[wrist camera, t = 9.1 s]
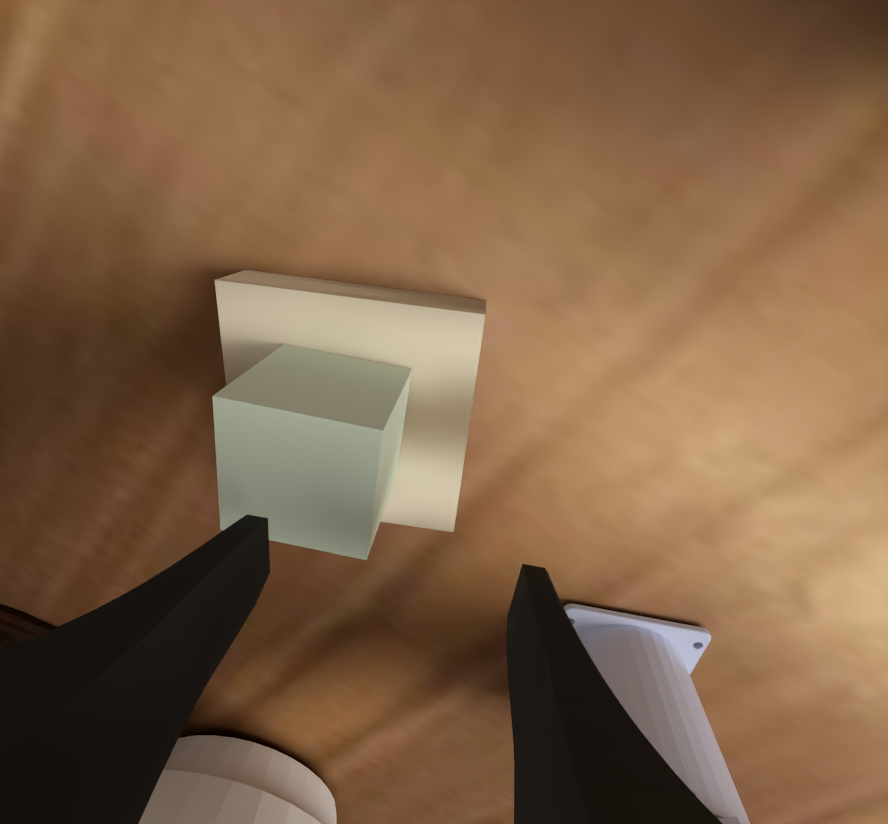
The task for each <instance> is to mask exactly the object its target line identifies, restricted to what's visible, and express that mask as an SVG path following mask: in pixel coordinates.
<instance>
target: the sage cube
mask: <svg viewBox="0 0 888 824" xmlns="http://www.w3.org/2000/svg"><path fill="white" fill-rule="evenodd" d="M411 374H412V369H408V368H403V367H398V366H393V365H388V364H383V363H378V362H373V361H368V360H363V359H358V358H353V357H348V356H343V355H338V354H333V353H328V352H323V351H318V350H313V349H308V348H303V347H298V346H293V345H288V344H284V345H282V346H281V347H280V348H278V349H277V350H275V351H274V352H273V353H271V354H270V355H268V356H267V357H266V358H264V359H263V360H262V361H260V362H259V363H257V364H256V365H255V366H253V367H252V368H250V369H249V370H248V371H246V372H245V373H244V374H242V375H241V376H239V377H238V378H237V379H235V380H234V381H232V382H231V383H230V384H228V385H227V386H226V387H224V388H223V389H221V390H220V391H219V392H217V393H216V394H214V395H213V396H212V397H213V414H214V430H215V447H216V463H217V480H218V497H219V513H220V530H225V529H226V528H228V527H229V526H231V525H232V524H234V523H235V522H236V521H238V520H239V519H241V518H242V517H244V516H245V515H247V514H248V515H253V516H259V517H264V518H268V531H269V540H272V541H277V542H281V543H286V544H291V545H296V546H301V547H306V548H310V549H315V550H320V551H325V552H330V553H334V554H339V555H344V556H349V557H354V558H359V559H363V560H367V557H368V555H369V552H370V549H371V546H372V543H373V540H374V538H375V535H376V532H377V529H378V526H379V523H380V521H381V518H382V515H383V512H384V509H385V506H386V504H387V501H388V498H389V495H390V492H391V489H392V487H393V484H394V481H395V478H396V474H397V467H398V460H399V454H400V447H401V440H402V434H403V427H404V420H405V414H406V407H407V400H408V394H409V387H410V380H411Z"/></svg>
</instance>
